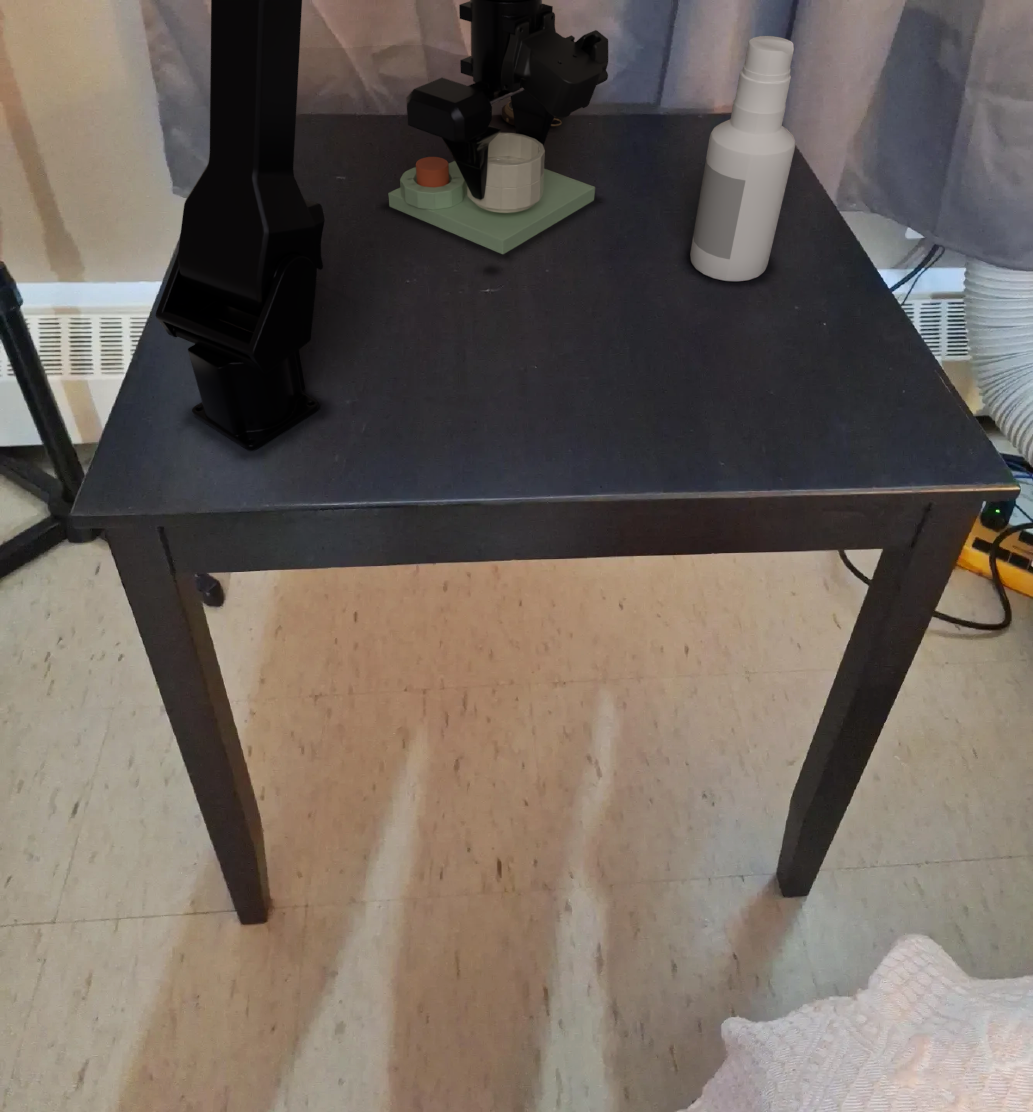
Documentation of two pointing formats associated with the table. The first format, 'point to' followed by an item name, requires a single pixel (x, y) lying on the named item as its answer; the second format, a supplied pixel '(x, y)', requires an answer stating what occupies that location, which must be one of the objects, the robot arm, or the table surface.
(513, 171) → the bowl
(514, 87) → the robot arm
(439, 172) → the button
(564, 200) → the scale
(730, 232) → the white bottle
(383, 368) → the table surface
